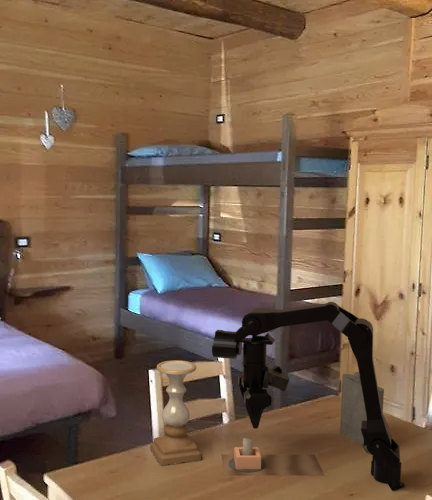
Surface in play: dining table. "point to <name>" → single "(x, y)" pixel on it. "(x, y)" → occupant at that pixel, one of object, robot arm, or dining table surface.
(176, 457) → the candle holder
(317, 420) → the dining table surface
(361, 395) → the hip flask
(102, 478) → the dining table surface
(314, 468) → the post board
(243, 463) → the collar
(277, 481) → the dining table surface
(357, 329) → the robot arm
